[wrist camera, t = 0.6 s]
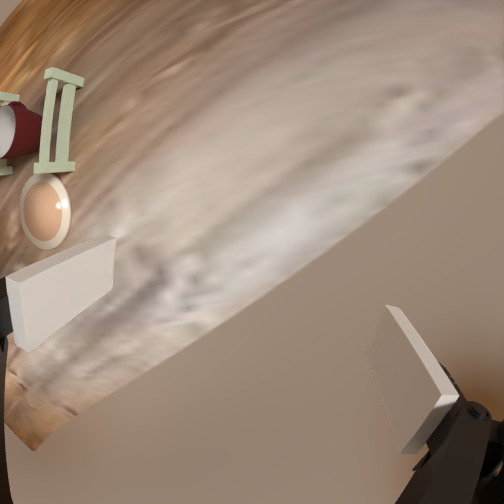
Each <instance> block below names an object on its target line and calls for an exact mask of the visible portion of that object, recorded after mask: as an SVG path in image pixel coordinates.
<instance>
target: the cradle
mask: <svg viewBox="0 0 504 504" xmlns="http://www.w3.org/2000/svg"><path fill="white" fill-rule="evenodd" d="M44 79H45V80H48V85H47V91H46V97H45V104H44V111H43V119H42V128H41V139H40V153H39V163H34V174H40V173H53V172H69V171H75V162H68V154H69V140H70V129H71V119H72V111H73V103H74V96H75V90H76V88H81V87H83V83H84V78H82V77H79V76H77V75H74V74H71V73H68V72H66V71H63V70H60V69H57V68H54V67H51V68H48V69H46V70H45V75H44ZM58 83H59V84H63V85H64V86H63V92H62V98H61V105H60V113H59V122H58V132H57V143H56V158H55V162H49V154H50V140H51V129H52V120H53V111H54V104H55V97H56V91H57V85H58ZM19 98H20V95H17V94H11V93H5V92H0V102H2V106H4V105H8V104H9V103H10V102H12V101H18V102H19ZM9 174H13V166H7V159H0V175H9Z"/></svg>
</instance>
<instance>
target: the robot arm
mask: <svg viewBox="0 0 504 504" xmlns="http://www.w3.org/2000/svg"><path fill="white" fill-rule="evenodd" d="M115 243H116V237H112V236H109V235H105V234H102V235H100V236H97V237H95V238H92V239H90V240H87V241H85V242H82V243H80V244H78V245H75V246H73V247H70V248H68V249H66V250H63V251H61V252H59V253H56V254H54V255H52V256H49V257H47V258H45V259H42V260H40V261H38V262H36V263H33V264H31V265H29V266H27V267H25V268H22V269H20V270H18V271H16V272H14V273H12V274H10V275H7V276H6V277H4V278H2V279H0V504H13V501H12V498H11V493H10V487H9V480H8V472H7V462H6V452H5V434H4V391H5V373H6V361H7V351H8V339H7V335H8V334H10V333H11V332H13V335H14V340H15V345H16V346H18V347H20V348H21V349H23V350H25V351H26V352H28V353H30V352H31V351H32V350H33V349H34V348H36V347H37V346H38V345H39V344H41V343H42V342H43V341H45V340H46V339H47V338H48V337H50V336H51V335H52V334H53V333H55V332H56V331H57V330H59V329H60V328H61V327H62V326H64V325H65V324H66V323H68V322H69V321H70V320H72V319H73V318H74V317H75V316H77V315H78V314H79V313H81V312H82V311H83V310H85V309H86V308H87V307H89V306H90V305H91V304H93V303H94V302H95V301H97V300H98V299H99V298H101V297H102V296H103V295H105V294H106V293H108V292H109V291H110V290H112V287H113V269H114V255H115ZM365 355H366V358H367V360H368V363H369V366H370V369H371V371H372V374H373V377H374V380H375V383H376V385H377V388H378V391H379V394H380V397H381V400H382V403H383V406H384V409H385V412H386V415H387V418H388V420H389V424H390V427H391V430H392V433H393V436H394V440H395V443H396V446H397V449H398V453H399V454H417V453H418V452H419V451H420V449H421V448H422V447H423V446H424V444H425V443H427V446H428V448H429V451H428V452H427V453H426V454H425V456H424V457H423V458H422V459H421V460H420V461H419V463H418V464H417V465H416V466H415V467H414V468H413V471H415V470H416V471H415V473H414V474H413V476H412V478H411V480H410V481H409V483H408V484H407V486H406V487H405V489H404V491H403V492H402V494H401V495H400V497H399V498H398V500H397V501H396V503H395V504H504V419H503V421H502V422H499V421H495V420H492V417H491V414H490V413H489V411H488V410H487V409H486V408H485V407H484V406H482V405H481V404H479V403H477V402H474V401H467V400H466V398H465V397H464V395H463V394H462V392H461V391H460V389H459V387H458V386H457V384H455V381H454V380H453V378H451V375H450V374H449V372H448V371H447V370H446V368H445V367H444V366H442V365H441V364H440V363H439V362H438V361H437V360H436V359H435V357H434V356H433V354H432V353H431V352H430V350H429V349H428V347H427V346H426V344H425V343H424V341H423V340H422V339H421V337H420V336H419V334H418V333H417V332H416V330H415V329H414V327H413V326H412V325H411V323H410V322H409V321H408V319H407V318H406V316H405V315H404V314H403V312H402V311H401V310H400V308H398V307H394V306H389V305H385V308H384V310H383V313H382V315H381V317H380V320H379V323H378V325H377V327H376V330H375V332H374V334H373V337H372V339H371V341H370V343H369V346H368V348H367V350H366V352H365ZM501 466H502V468H501V470H500V472H499V474H498V475H497V470H498V469H499V468H500V467H501Z"/></svg>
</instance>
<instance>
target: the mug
mask: <svg viewBox="0 0 504 504" xmlns="http://www.w3.org/2000/svg"><path fill="white" fill-rule="evenodd" d="M42 119H43V117H42V116H40V115H39V114H37V113H34V112H32V111H30V110H27V108H26V107H25V106H24V105H23V104H22V103H21V102H18V101H12V102H10V103H9V104H8V105H4V106H2V107H0V159H10V158H15V157H18V156H22V155H26V154H29V153H32V152H35V151H36V150H38V149H39V148H40V139H41V128H42Z"/></svg>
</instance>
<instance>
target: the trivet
mask: <svg viewBox="0 0 504 504" xmlns="http://www.w3.org/2000/svg"><path fill="white" fill-rule="evenodd" d="M19 215H20V221H21V225H22V228H23V230H24V233H25V234H26V236H27V238H28V239H29V240H30V241H31V243H32V244H34V245H35V246H36V247H38V248H40V249H43V250H49V249H53V248H55V247H57V246H59V245H60V244H61V243H62V242H63V241H64V240H65V238H66V237H67V235H68V232H69V229H70V225H71V219H72V208H71V201H70V197H69V194H68V191H67V189H66V187H65V185H64V184H63V182H62V181H61V180H60V179H59V178H58V177H57V176H56V175H54V174H52V173H40V174H35V175H33V176H32V177H31V178H29V180H28V181H27V182H26V184H25V185H24V187H23V190H22V192H21V196H20V202H19Z"/></svg>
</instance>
